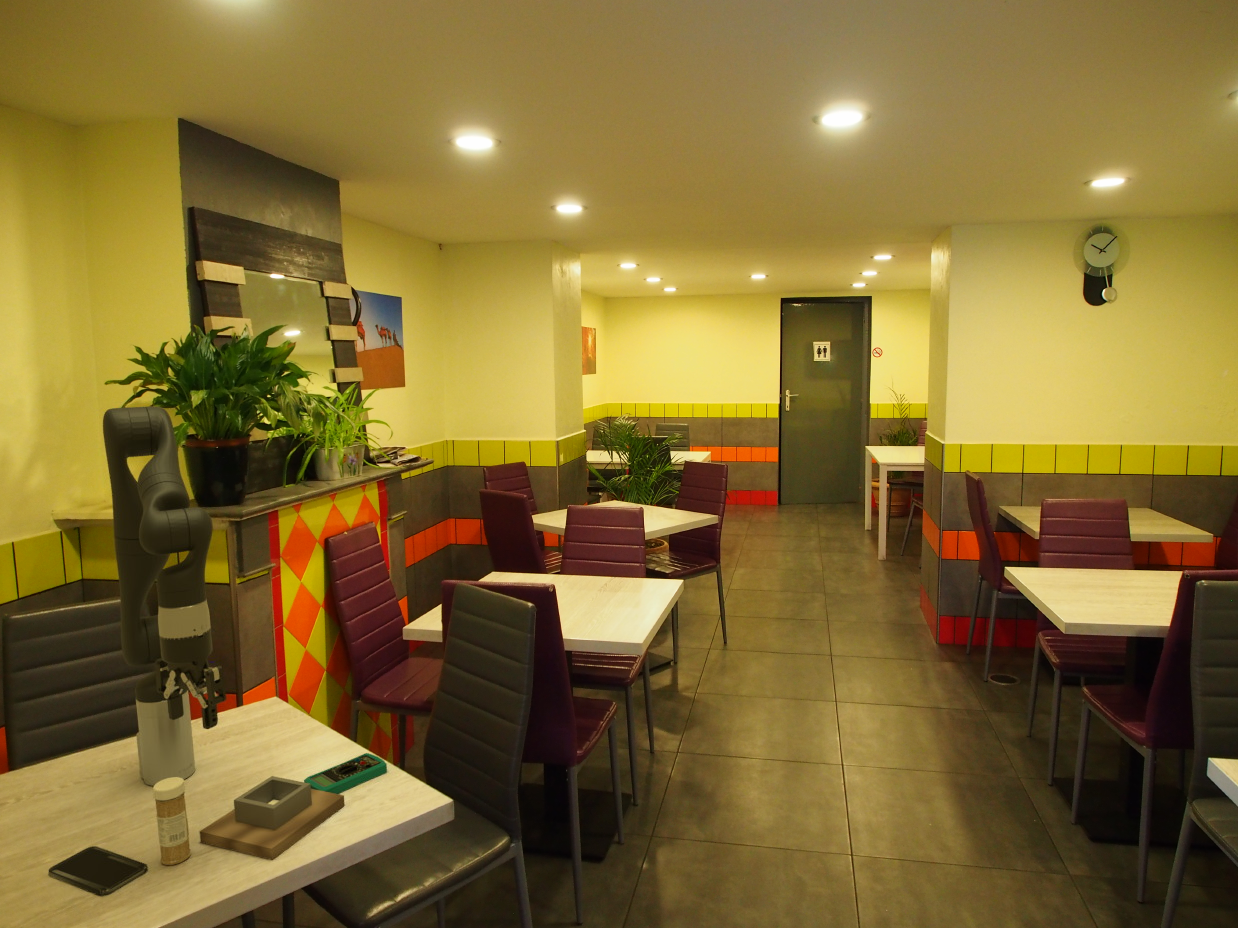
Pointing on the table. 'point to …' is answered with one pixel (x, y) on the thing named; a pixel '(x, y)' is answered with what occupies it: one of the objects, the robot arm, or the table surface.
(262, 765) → the table surface
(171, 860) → the sprinkles bottle
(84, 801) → the table surface
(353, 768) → the digital multimeter
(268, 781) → the socket sleeve
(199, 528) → the robot arm
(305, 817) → the socket board
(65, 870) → the phone
